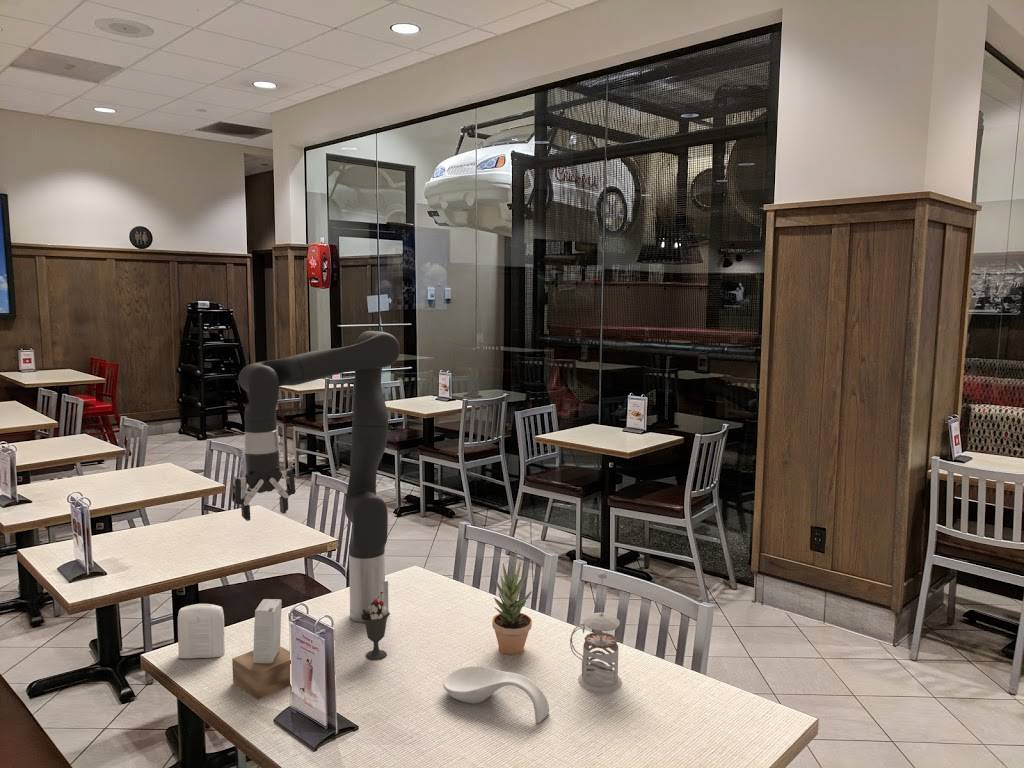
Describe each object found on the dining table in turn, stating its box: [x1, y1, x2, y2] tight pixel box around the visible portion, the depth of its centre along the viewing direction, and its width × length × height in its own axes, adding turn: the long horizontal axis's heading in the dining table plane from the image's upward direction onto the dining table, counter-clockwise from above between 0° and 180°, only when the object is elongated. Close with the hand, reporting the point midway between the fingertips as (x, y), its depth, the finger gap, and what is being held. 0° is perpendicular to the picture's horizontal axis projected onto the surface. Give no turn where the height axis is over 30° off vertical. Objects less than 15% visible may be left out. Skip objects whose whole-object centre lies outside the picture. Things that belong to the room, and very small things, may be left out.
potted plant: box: [491, 549, 533, 655], centre depth 176 cm, size 10×10×25 cm
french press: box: [569, 571, 623, 694], centre depth 161 cm, size 10×12×25 cm
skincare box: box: [252, 598, 282, 663], centre depth 159 cm, size 6×4×12 cm
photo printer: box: [177, 603, 226, 659], centre depth 172 cm, size 10×4×12 cm, turn 98°
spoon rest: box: [442, 665, 550, 724], centre depth 153 cm, size 24×12×7 cm, turn 61°
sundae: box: [361, 592, 391, 661], centre depth 172 cm, size 7×7×15 cm
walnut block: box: [231, 645, 291, 701], centre depth 160 cm, size 10×10×6 cm
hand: (265, 516), depth 174 cm, fingers open, 8 cm apart
